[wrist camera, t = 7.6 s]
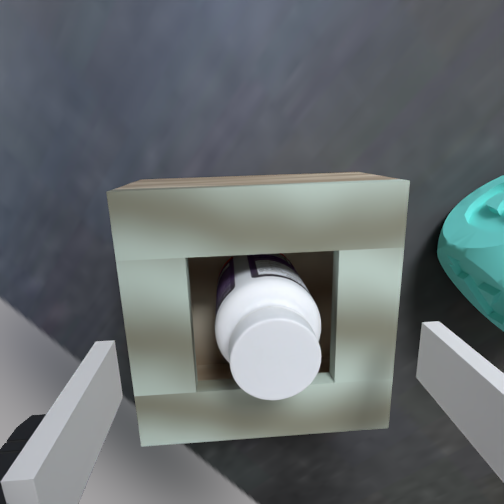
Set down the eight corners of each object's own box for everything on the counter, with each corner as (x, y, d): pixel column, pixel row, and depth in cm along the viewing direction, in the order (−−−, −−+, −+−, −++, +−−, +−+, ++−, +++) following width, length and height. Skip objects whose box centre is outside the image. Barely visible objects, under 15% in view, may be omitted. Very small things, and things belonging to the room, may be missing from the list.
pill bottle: (242, 331, 26) (252, 434, 16) (202, 269, 24) (187, 344, 15) (310, 293, 25) (358, 378, 16) (272, 228, 24) (302, 279, 15)
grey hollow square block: (141, 179, 23) (106, 192, 16) (358, 172, 24) (409, 180, 17) (162, 372, 27) (141, 446, 20) (349, 360, 28) (388, 428, 21)
